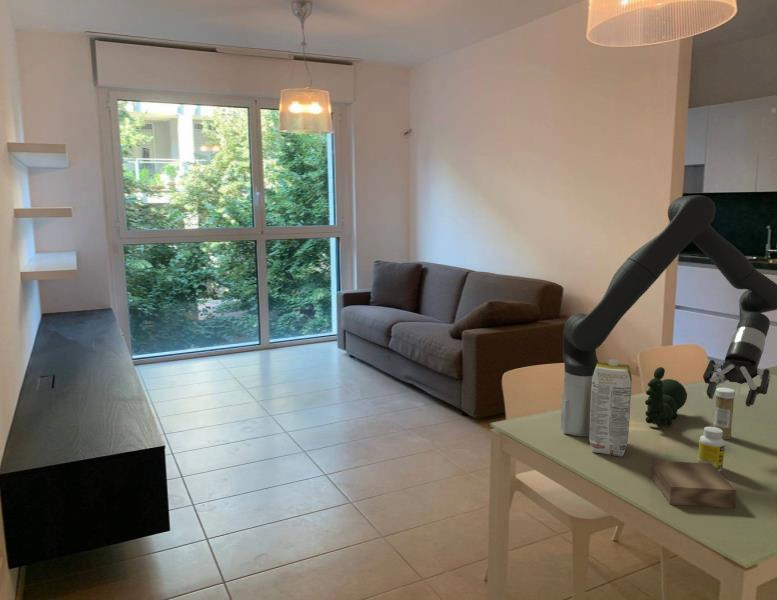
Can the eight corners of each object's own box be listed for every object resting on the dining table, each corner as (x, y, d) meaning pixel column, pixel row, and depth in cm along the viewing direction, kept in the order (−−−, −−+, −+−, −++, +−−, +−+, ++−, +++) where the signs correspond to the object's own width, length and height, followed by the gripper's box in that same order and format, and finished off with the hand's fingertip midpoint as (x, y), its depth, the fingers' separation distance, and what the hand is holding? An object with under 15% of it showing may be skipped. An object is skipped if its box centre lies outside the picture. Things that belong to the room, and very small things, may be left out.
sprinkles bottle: (734, 437, 162) (738, 390, 160) (725, 441, 160) (729, 393, 157) (717, 432, 166) (721, 385, 164) (708, 435, 163) (712, 388, 161)
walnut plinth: (669, 504, 126) (671, 486, 126) (651, 476, 139) (652, 460, 139) (734, 507, 125) (736, 490, 124) (709, 479, 137) (711, 463, 137)
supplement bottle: (721, 474, 140) (725, 435, 138) (696, 469, 143) (699, 430, 141) (723, 466, 145) (726, 427, 143) (698, 461, 147) (701, 423, 146)
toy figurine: (669, 441, 164) (691, 408, 183) (673, 376, 160) (694, 350, 178) (634, 433, 170) (659, 402, 189) (636, 371, 166) (661, 346, 184)
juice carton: (628, 447, 156) (633, 359, 152) (626, 459, 149) (632, 366, 145) (590, 442, 160) (595, 355, 156) (587, 453, 153) (592, 363, 149)
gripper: (713, 336, 157) (695, 387, 151) (775, 344, 147) (758, 399, 141) (718, 352, 162) (700, 402, 156) (779, 361, 152) (762, 415, 146)
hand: (728, 401), depth 149 cm, fingers open, 8 cm apart
